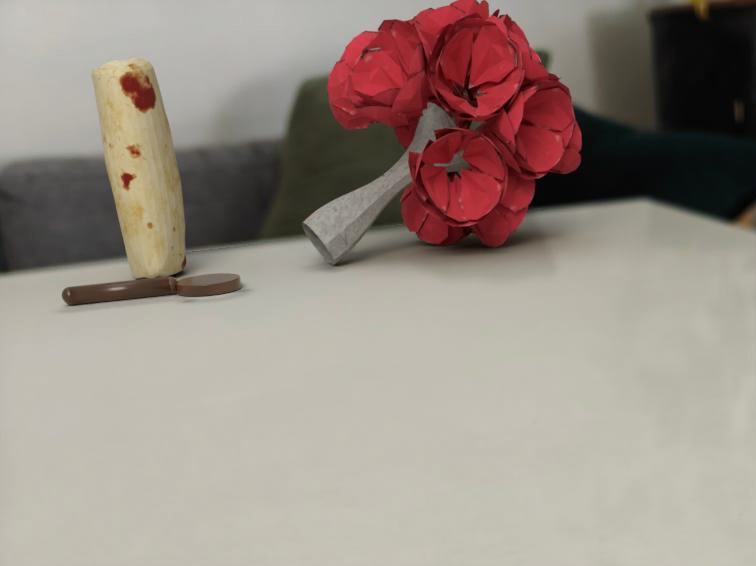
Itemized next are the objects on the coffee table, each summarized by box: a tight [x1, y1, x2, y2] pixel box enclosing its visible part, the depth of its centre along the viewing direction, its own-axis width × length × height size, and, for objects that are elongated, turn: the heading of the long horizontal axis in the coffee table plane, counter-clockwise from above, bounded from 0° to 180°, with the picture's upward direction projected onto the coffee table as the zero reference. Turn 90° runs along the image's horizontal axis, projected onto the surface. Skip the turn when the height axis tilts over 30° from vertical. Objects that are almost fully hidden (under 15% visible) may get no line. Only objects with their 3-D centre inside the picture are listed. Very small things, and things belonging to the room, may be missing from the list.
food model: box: [90, 55, 187, 280], centre depth 111 cm, size 10×7×20 cm
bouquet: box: [301, 0, 583, 266], centre depth 114 cm, size 22×24×30 cm
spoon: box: [61, 272, 242, 306], centre depth 105 cm, size 16×6×2 cm, turn 104°
